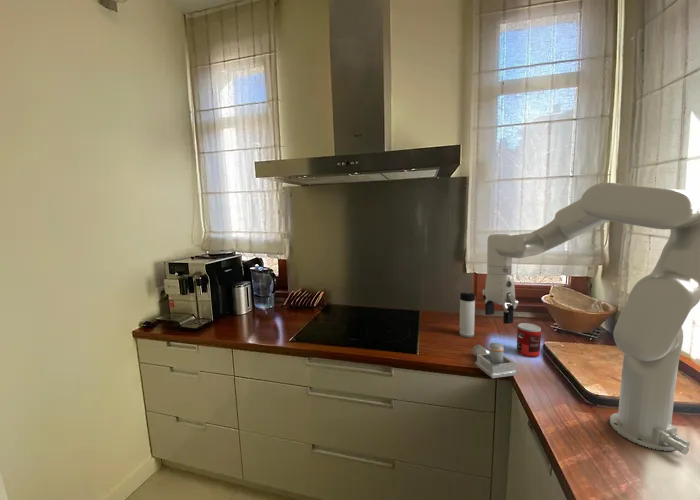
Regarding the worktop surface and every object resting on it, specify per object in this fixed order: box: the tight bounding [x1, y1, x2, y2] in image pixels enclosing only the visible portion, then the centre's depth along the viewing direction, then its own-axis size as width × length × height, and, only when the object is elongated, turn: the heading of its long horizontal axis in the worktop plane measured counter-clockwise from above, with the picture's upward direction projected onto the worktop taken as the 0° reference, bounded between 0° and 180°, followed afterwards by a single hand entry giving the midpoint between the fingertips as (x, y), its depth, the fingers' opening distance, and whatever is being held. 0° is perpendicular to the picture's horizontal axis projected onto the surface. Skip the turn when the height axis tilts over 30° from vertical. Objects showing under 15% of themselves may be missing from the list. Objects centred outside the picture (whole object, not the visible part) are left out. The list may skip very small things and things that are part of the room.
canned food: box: [516, 322, 542, 358], centre depth 120 cm, size 8×8×11 cm
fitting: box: [472, 344, 519, 379], centre depth 112 cm, size 16×10×4 cm, turn 11°
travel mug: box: [459, 292, 476, 339], centre depth 139 cm, size 6×7×20 cm
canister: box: [488, 342, 505, 364], centre depth 109 cm, size 5×5×8 cm
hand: (498, 318), depth 107 cm, fingers open, 9 cm apart
